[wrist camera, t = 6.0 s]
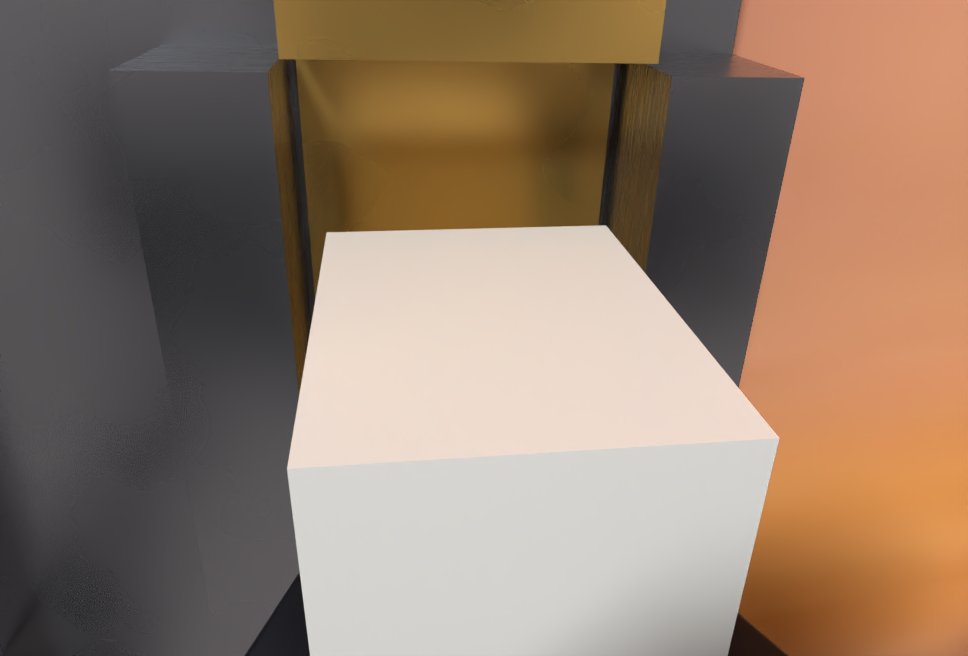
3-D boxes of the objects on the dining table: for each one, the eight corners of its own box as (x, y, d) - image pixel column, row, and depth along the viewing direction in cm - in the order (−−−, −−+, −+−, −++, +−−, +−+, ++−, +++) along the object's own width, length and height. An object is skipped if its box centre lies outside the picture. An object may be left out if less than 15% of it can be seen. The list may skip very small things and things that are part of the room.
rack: (609, 664, 17) (653, 799, 14) (-18, 720, 15) (-102, 886, 13) (742, -209, 10) (881, -266, 7) (-437, -279, 8) (-848, -389, 5)
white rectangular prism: (564, 666, 11) (647, 991, 8) (363, 685, 11) (357, 1035, 8) (606, 225, 8) (779, 437, 5) (326, 233, 8) (287, 469, 4)
